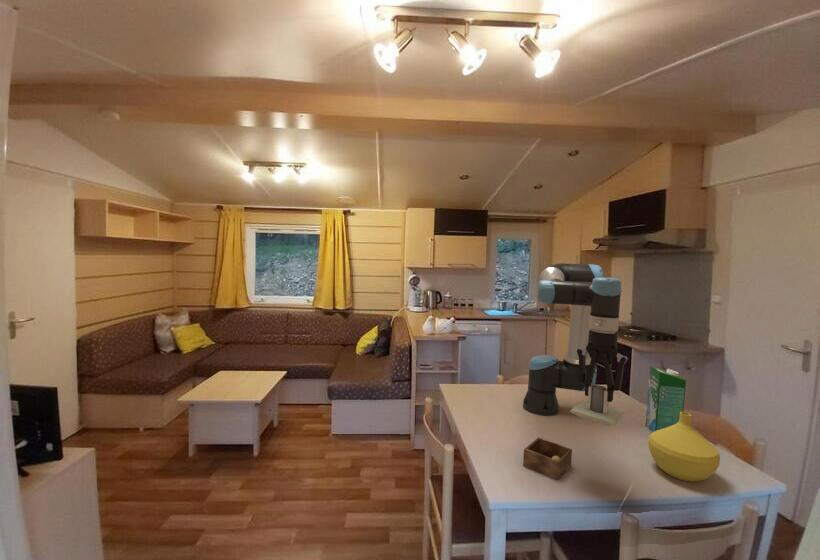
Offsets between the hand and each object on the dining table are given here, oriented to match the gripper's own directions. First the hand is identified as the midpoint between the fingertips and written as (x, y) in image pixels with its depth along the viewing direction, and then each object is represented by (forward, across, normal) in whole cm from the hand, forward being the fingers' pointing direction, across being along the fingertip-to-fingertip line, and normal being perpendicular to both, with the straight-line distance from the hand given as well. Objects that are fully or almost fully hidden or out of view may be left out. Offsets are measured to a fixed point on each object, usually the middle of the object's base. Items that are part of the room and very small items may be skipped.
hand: (597, 409), depth 112 cm
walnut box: (+22, -13, -2) cm, 26 cm away
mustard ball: (+22, -11, 0) cm, 24 cm away
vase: (+22, +19, +26) cm, 39 cm away
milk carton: (+22, +10, +56) cm, 61 cm away
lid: (+1, 0, 0) cm, 1 cm away
